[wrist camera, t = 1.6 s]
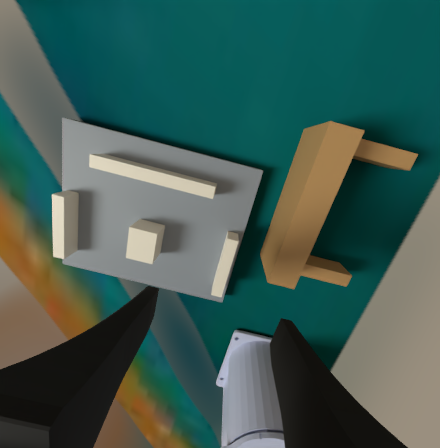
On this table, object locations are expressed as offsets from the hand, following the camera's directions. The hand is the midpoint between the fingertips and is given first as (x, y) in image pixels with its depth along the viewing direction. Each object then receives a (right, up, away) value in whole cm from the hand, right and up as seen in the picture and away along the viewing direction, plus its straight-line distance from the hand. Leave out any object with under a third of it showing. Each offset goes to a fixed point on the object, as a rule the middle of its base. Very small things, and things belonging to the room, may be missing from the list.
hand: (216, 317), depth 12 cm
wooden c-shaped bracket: (+10, +7, +8) cm, 14 cm away
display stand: (-6, +6, +9) cm, 12 cm away
